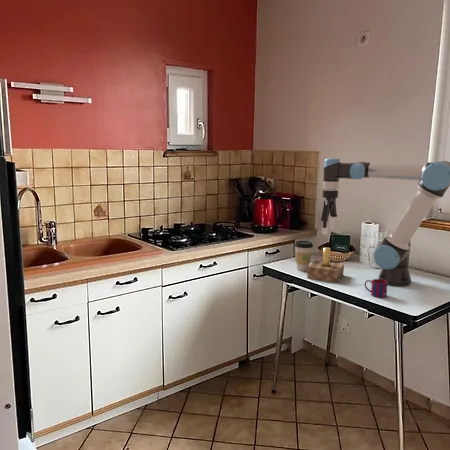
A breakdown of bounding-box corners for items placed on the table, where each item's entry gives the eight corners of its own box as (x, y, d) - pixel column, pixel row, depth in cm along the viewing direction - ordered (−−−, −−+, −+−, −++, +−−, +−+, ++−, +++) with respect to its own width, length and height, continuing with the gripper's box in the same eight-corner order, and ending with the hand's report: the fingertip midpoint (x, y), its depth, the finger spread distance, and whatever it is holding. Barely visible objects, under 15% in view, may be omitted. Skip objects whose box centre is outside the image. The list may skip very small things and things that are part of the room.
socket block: (343, 275, 238) (344, 264, 237) (336, 282, 226) (337, 270, 224) (315, 271, 244) (315, 260, 243) (307, 278, 232) (307, 266, 231)
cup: (382, 299, 203) (384, 284, 202) (361, 294, 209) (362, 279, 208) (389, 295, 208) (390, 281, 207) (368, 290, 214) (369, 276, 213)
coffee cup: (311, 272, 242) (313, 245, 239) (293, 271, 244) (294, 243, 241) (312, 267, 251) (313, 240, 249) (294, 266, 253) (295, 239, 251)
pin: (329, 274, 236) (331, 247, 233) (328, 276, 232) (329, 249, 230) (323, 273, 237) (324, 247, 234) (321, 275, 234) (322, 248, 231)
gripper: (329, 187, 239) (327, 226, 243) (315, 191, 217) (313, 235, 221) (343, 187, 236) (341, 228, 240) (331, 192, 214) (329, 236, 218)
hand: (328, 231), depth 230 cm, fingers open, 13 cm apart
